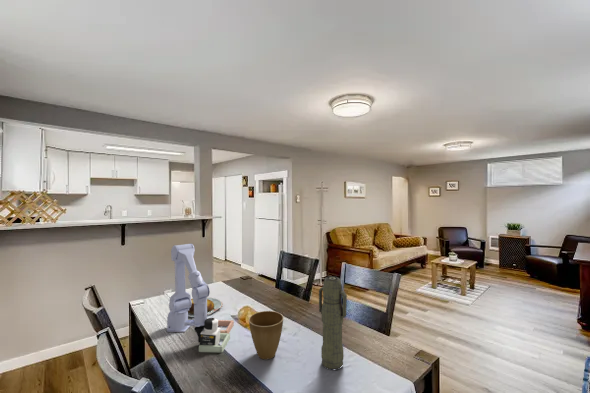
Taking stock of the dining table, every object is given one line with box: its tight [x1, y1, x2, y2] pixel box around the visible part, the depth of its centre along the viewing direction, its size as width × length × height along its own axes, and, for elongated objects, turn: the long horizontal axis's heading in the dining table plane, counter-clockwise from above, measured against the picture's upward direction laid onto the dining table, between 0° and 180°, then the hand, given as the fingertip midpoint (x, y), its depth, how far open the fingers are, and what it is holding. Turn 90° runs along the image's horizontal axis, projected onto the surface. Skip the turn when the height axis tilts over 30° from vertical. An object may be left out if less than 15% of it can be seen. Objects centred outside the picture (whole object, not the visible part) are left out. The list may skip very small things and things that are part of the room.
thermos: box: [318, 275, 348, 370], centre depth 115 cm, size 9×12×35 cm
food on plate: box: [188, 296, 223, 318], centre depth 170 cm, size 25×25×7 cm
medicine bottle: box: [198, 317, 222, 346], centre depth 128 cm, size 7×7×12 cm
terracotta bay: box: [218, 319, 235, 333], centre depth 143 cm, size 10×12×2 cm
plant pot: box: [248, 310, 284, 360], centre depth 121 cm, size 15×15×16 cm
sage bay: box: [198, 332, 231, 353], centre depth 129 cm, size 10×12×2 cm
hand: (200, 341), depth 129 cm, fingers closed
